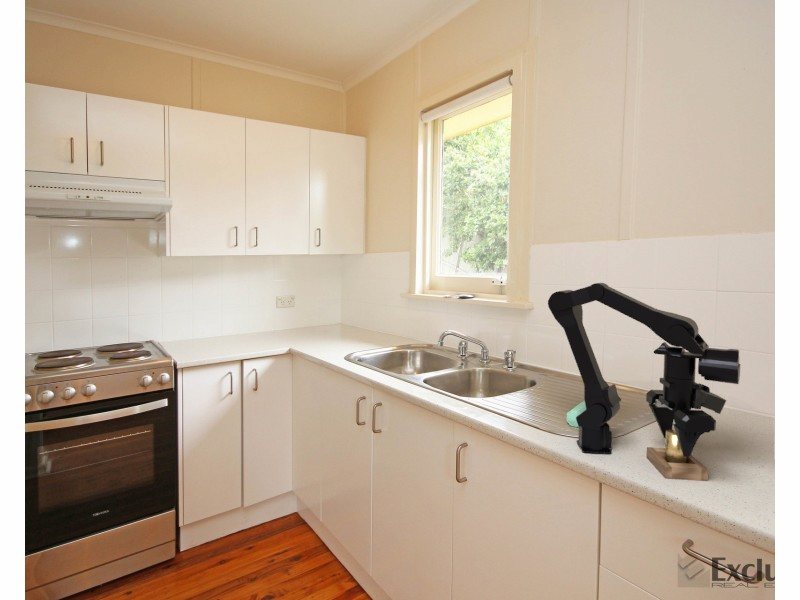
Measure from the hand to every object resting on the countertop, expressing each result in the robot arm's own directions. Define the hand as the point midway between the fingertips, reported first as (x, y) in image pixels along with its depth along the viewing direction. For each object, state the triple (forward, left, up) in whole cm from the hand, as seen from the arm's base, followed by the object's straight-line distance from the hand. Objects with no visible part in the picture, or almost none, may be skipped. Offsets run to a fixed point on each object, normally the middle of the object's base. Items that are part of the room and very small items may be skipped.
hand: (676, 447), depth 97 cm
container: (-10, +33, -5) cm, 35 cm away
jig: (0, 0, -5) cm, 5 cm away
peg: (0, 0, -5) cm, 5 cm away
